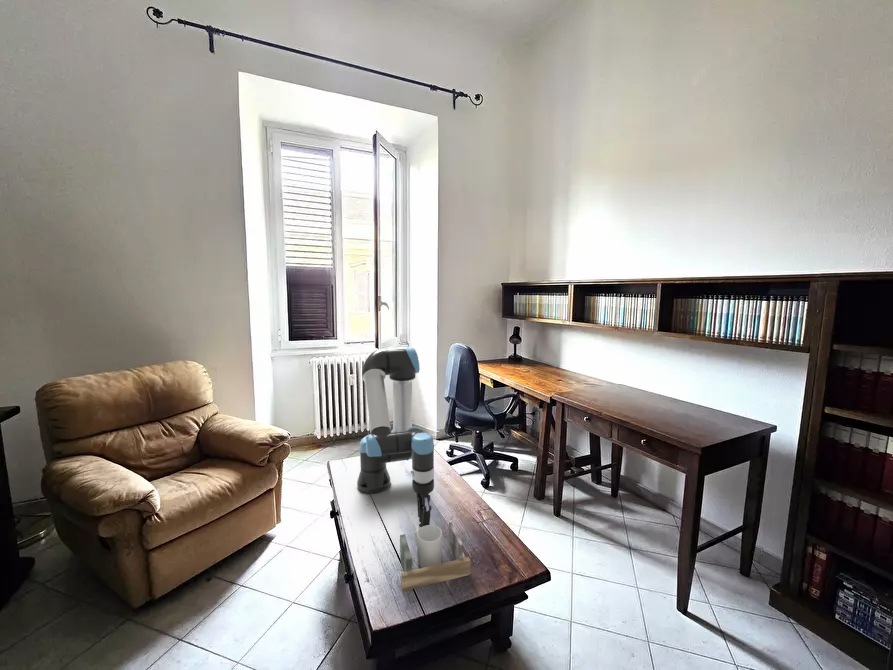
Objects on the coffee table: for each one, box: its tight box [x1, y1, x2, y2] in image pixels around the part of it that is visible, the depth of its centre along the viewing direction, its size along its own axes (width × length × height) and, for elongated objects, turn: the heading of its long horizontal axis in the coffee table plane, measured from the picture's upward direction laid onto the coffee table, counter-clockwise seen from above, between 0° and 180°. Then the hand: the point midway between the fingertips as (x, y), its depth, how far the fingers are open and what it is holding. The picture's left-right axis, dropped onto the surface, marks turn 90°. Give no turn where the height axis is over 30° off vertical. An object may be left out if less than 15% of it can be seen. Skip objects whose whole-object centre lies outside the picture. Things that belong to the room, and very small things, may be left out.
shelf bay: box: [399, 521, 471, 592], centre depth 118 cm, size 13×23×10 cm, turn 107°
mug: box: [413, 524, 443, 568], centre depth 122 cm, size 12×8×10 cm
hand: (423, 540), depth 129 cm, fingers closed
